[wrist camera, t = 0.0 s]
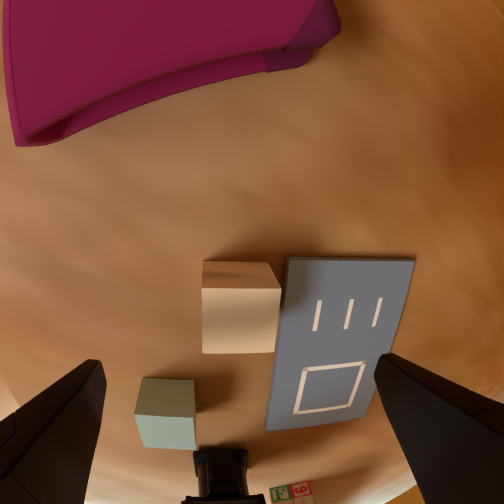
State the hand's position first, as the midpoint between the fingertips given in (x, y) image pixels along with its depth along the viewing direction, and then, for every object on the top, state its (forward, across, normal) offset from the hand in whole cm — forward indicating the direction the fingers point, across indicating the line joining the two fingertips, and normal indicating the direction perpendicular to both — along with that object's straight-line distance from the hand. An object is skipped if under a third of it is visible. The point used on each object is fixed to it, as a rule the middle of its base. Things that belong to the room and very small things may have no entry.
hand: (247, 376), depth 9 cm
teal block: (+15, +5, +16) cm, 23 cm away
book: (+16, +8, -24) cm, 30 cm away
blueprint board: (+15, -11, +11) cm, 22 cm away
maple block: (+15, -1, +4) cm, 16 cm away
